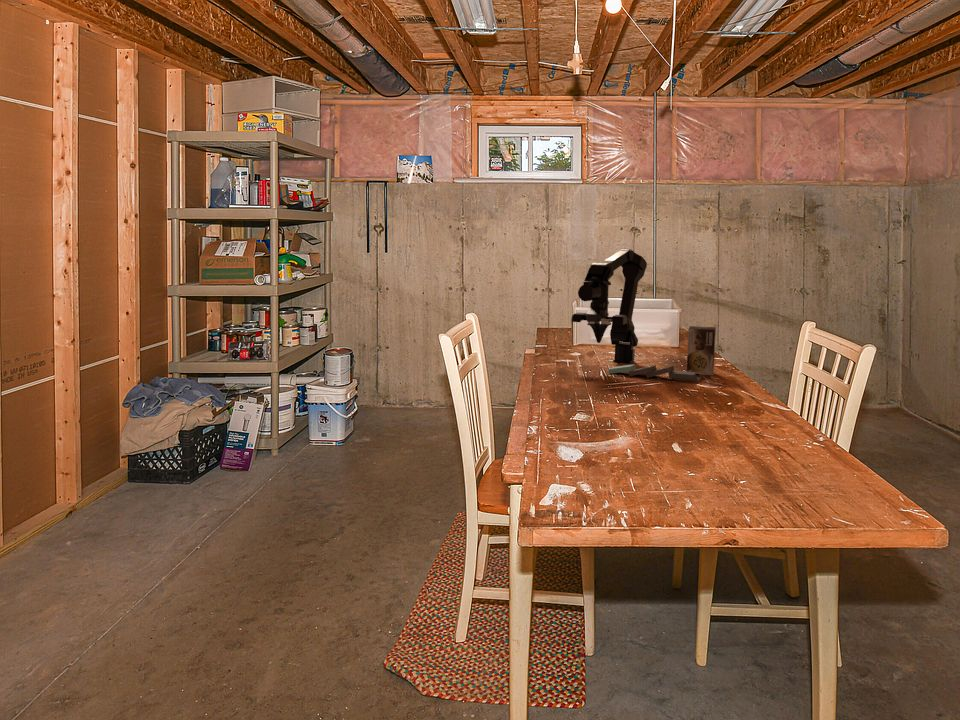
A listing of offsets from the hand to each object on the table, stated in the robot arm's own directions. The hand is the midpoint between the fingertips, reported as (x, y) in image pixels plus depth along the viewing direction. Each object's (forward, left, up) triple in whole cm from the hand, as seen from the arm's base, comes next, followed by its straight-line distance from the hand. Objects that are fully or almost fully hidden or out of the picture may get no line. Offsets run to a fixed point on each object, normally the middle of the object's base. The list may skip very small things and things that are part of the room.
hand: (598, 342), depth 275 cm
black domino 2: (+14, -5, -9) cm, 17 cm away
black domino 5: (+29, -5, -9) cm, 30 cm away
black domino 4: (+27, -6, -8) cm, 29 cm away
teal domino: (+6, -5, -9) cm, 12 cm away
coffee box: (+34, +9, -10) cm, 36 cm away
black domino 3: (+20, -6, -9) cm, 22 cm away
